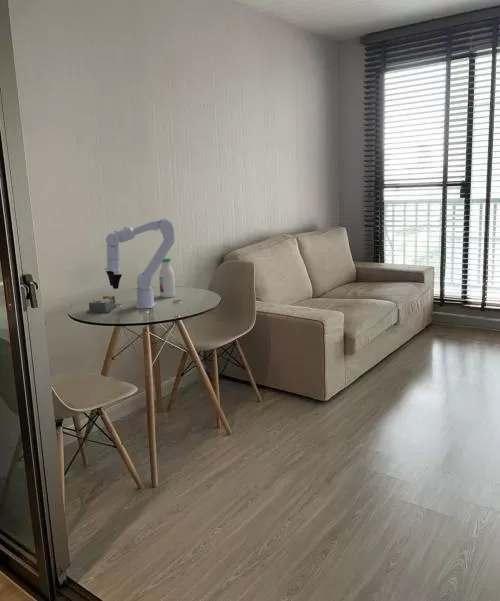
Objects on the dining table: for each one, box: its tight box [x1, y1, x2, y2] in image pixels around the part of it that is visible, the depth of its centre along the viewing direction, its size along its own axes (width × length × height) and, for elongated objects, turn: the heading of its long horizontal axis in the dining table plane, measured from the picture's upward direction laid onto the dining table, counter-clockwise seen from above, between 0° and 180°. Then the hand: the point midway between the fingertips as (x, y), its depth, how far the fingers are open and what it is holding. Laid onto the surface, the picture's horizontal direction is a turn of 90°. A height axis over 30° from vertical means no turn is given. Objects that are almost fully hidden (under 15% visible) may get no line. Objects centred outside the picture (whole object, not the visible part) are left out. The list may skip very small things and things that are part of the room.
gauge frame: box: [86, 298, 117, 314], centre depth 255 cm, size 12×10×5 cm
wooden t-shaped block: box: [101, 295, 116, 305], centre depth 261 cm, size 10×6×4 cm, turn 176°
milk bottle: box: [158, 257, 176, 298], centre depth 280 cm, size 8×8×20 cm
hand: (114, 287), depth 256 cm, fingers open, 7 cm apart
